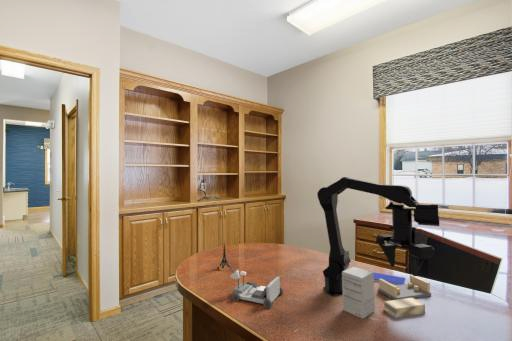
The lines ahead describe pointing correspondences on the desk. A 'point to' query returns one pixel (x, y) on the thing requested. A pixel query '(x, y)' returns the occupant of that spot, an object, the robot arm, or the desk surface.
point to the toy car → (256, 290)
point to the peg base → (406, 289)
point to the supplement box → (358, 292)
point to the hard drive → (389, 279)
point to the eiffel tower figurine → (224, 259)
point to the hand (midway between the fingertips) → (403, 271)
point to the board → (404, 307)
